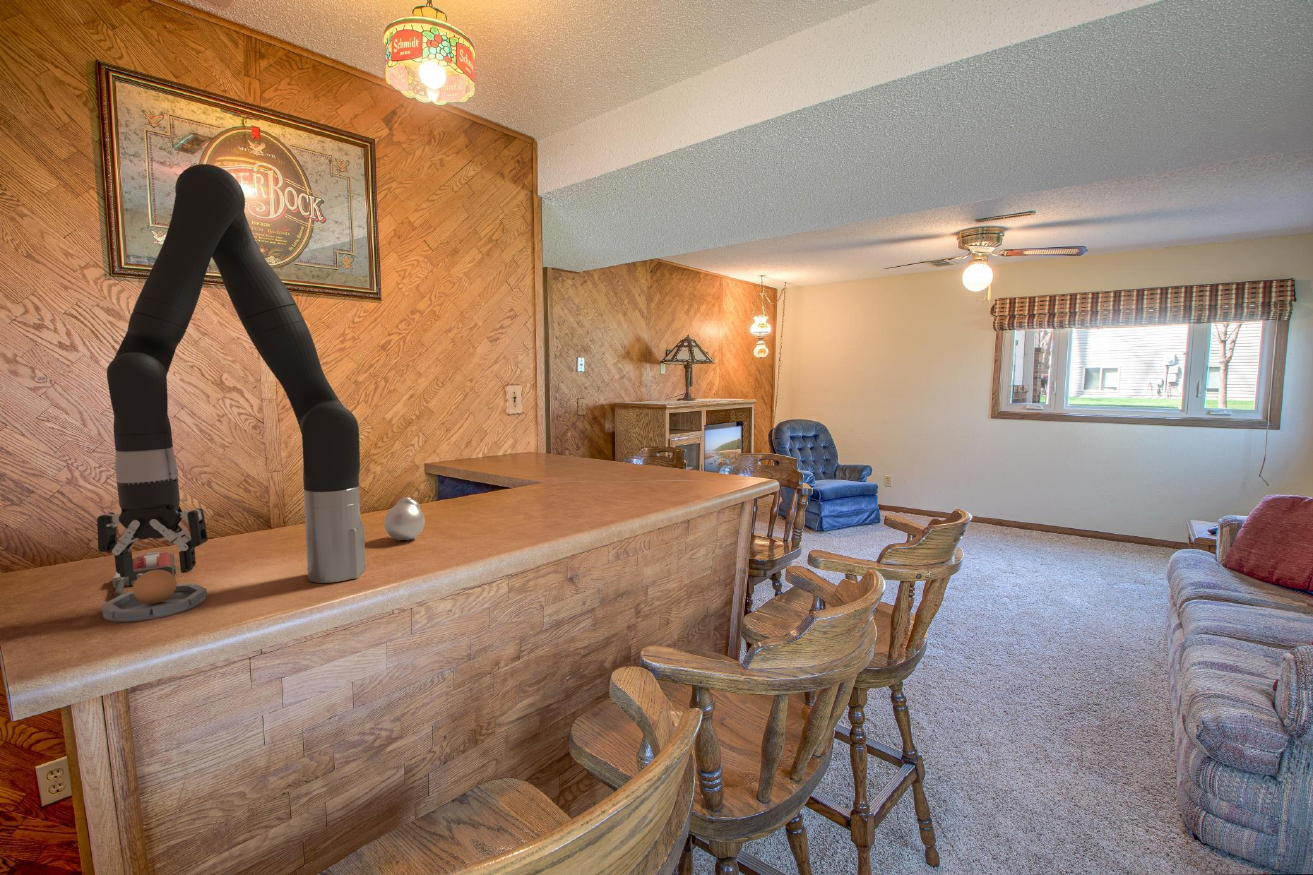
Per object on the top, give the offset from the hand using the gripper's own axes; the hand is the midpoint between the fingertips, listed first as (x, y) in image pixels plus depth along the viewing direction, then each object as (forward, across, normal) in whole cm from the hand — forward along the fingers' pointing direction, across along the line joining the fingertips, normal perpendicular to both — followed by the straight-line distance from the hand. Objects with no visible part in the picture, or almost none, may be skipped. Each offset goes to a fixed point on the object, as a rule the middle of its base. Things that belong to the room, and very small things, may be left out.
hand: (157, 573), depth 97 cm
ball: (+2, 0, 0) cm, 2 cm away
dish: (+6, 0, 0) cm, 6 cm away
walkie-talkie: (+6, -10, +15) cm, 19 cm away
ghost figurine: (+7, +32, +36) cm, 48 cm away
